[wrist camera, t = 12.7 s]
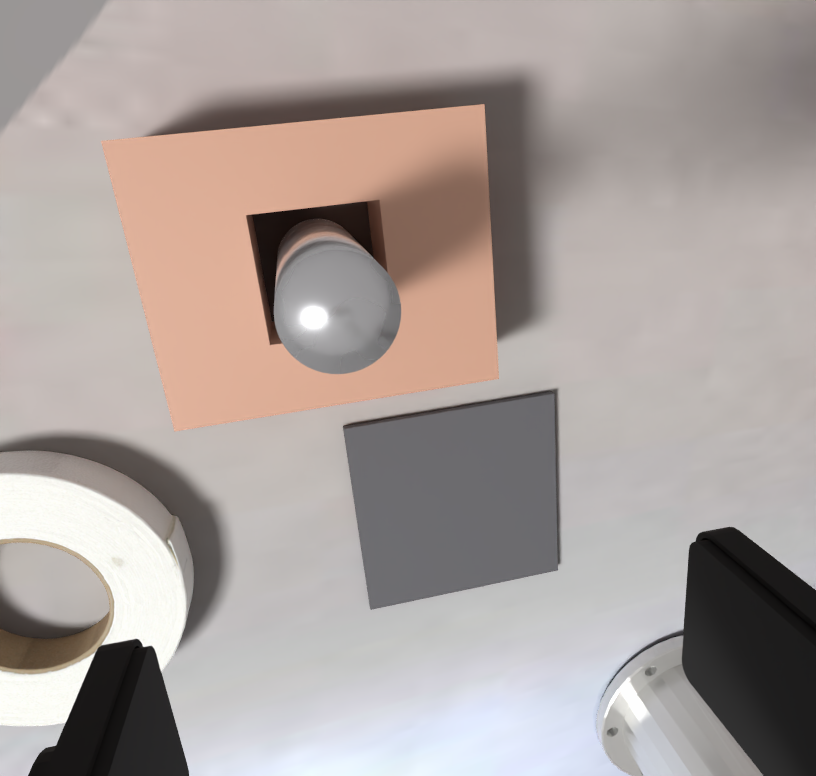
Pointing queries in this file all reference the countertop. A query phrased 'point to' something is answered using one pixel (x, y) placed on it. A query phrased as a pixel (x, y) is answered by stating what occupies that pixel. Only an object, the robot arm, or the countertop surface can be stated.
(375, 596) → the rubber mat
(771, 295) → the countertop surface
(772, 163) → the countertop surface
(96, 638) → the roll of tape
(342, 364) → the steel pin
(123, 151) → the hole block
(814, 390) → the countertop surface
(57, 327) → the countertop surface
